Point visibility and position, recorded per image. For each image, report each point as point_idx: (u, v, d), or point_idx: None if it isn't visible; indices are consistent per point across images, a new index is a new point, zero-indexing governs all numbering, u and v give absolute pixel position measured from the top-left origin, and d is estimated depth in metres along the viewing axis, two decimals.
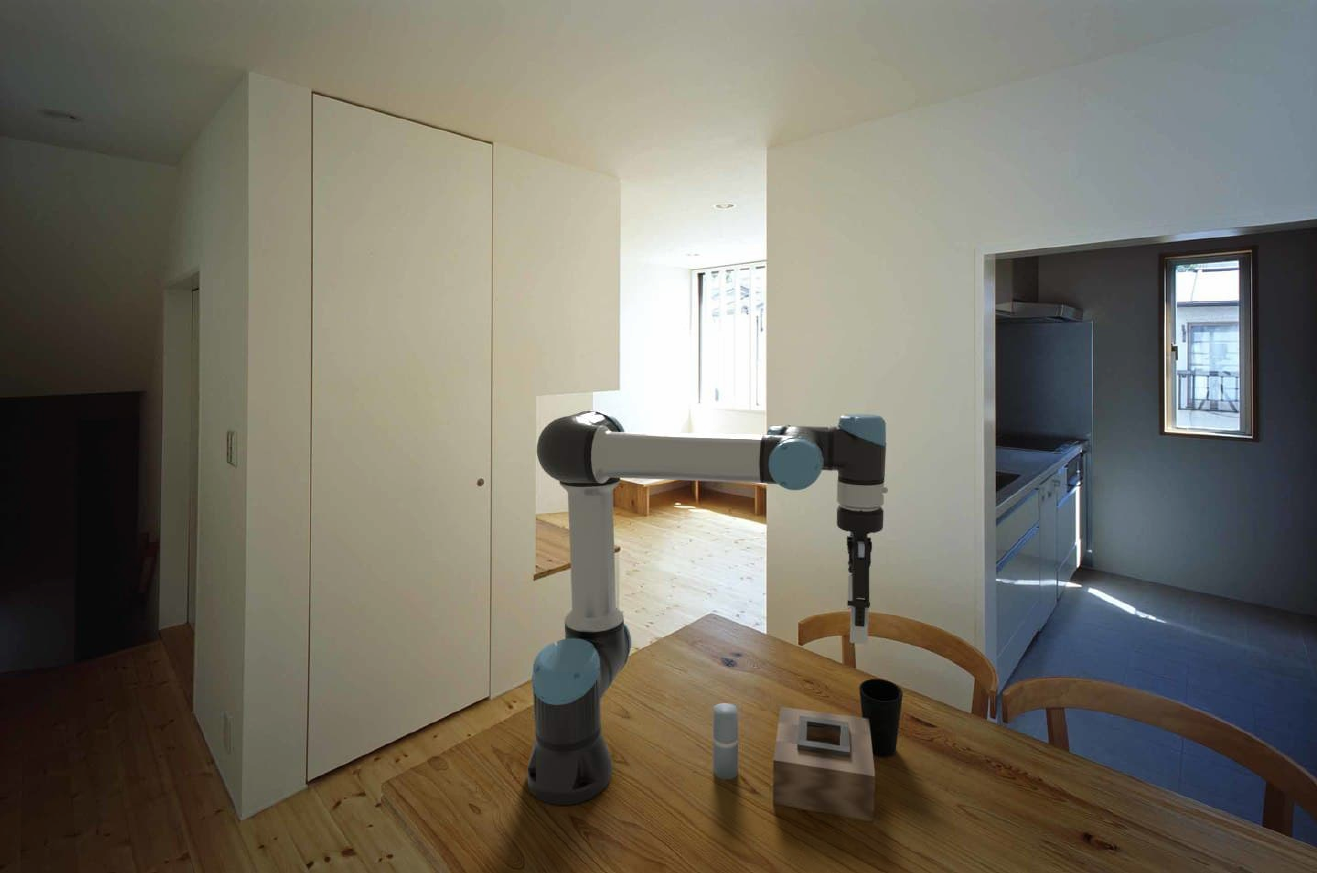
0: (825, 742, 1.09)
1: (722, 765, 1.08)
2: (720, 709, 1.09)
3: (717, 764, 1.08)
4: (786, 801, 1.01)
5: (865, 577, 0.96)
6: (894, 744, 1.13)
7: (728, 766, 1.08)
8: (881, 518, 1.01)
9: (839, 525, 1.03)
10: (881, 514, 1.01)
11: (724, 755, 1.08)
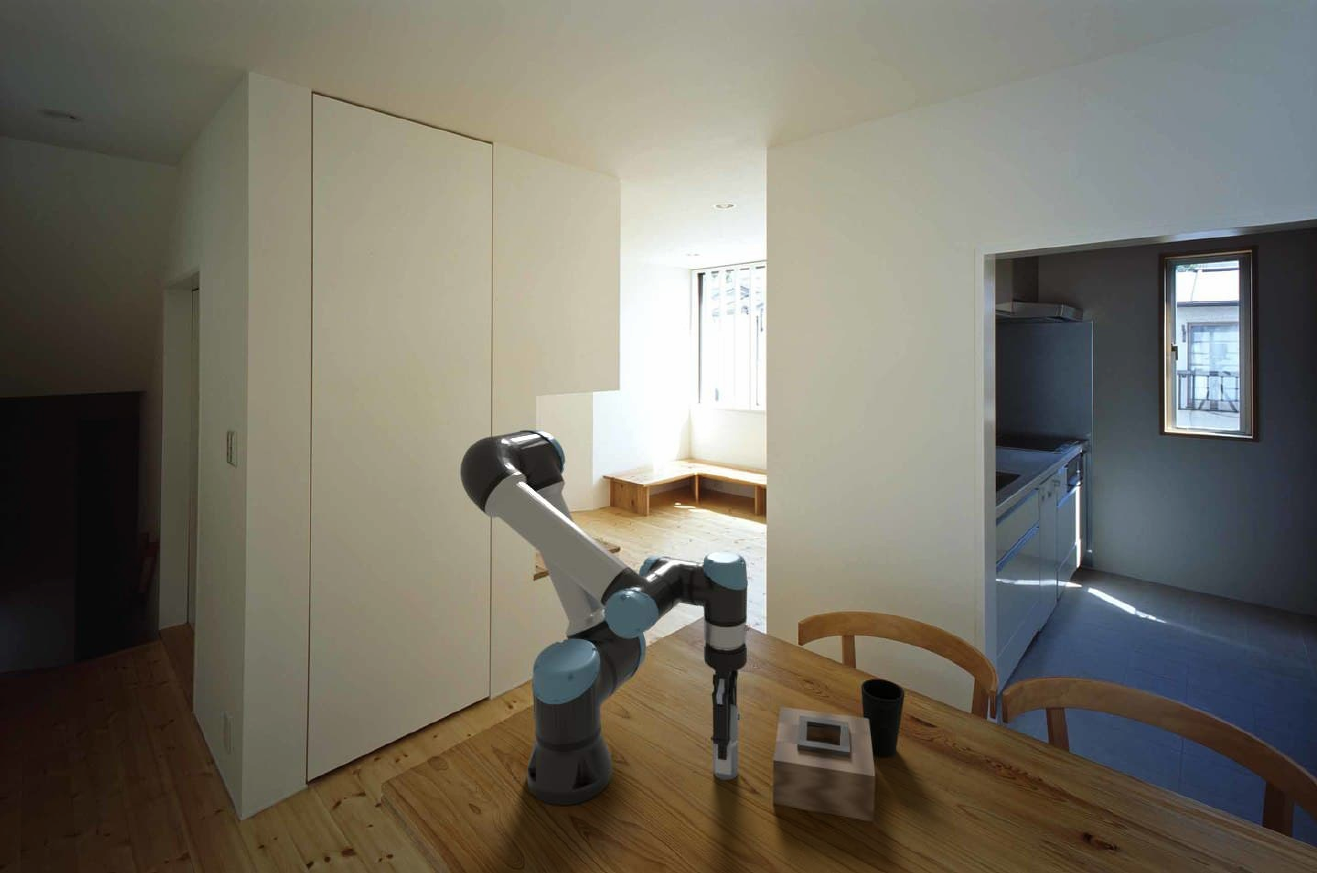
0: (825, 742, 1.09)
1: None
2: None
3: None
4: (786, 801, 1.01)
5: (723, 722, 1.03)
6: (894, 744, 1.14)
7: None
8: (742, 656, 1.05)
9: (705, 660, 1.07)
10: (742, 652, 1.05)
11: None
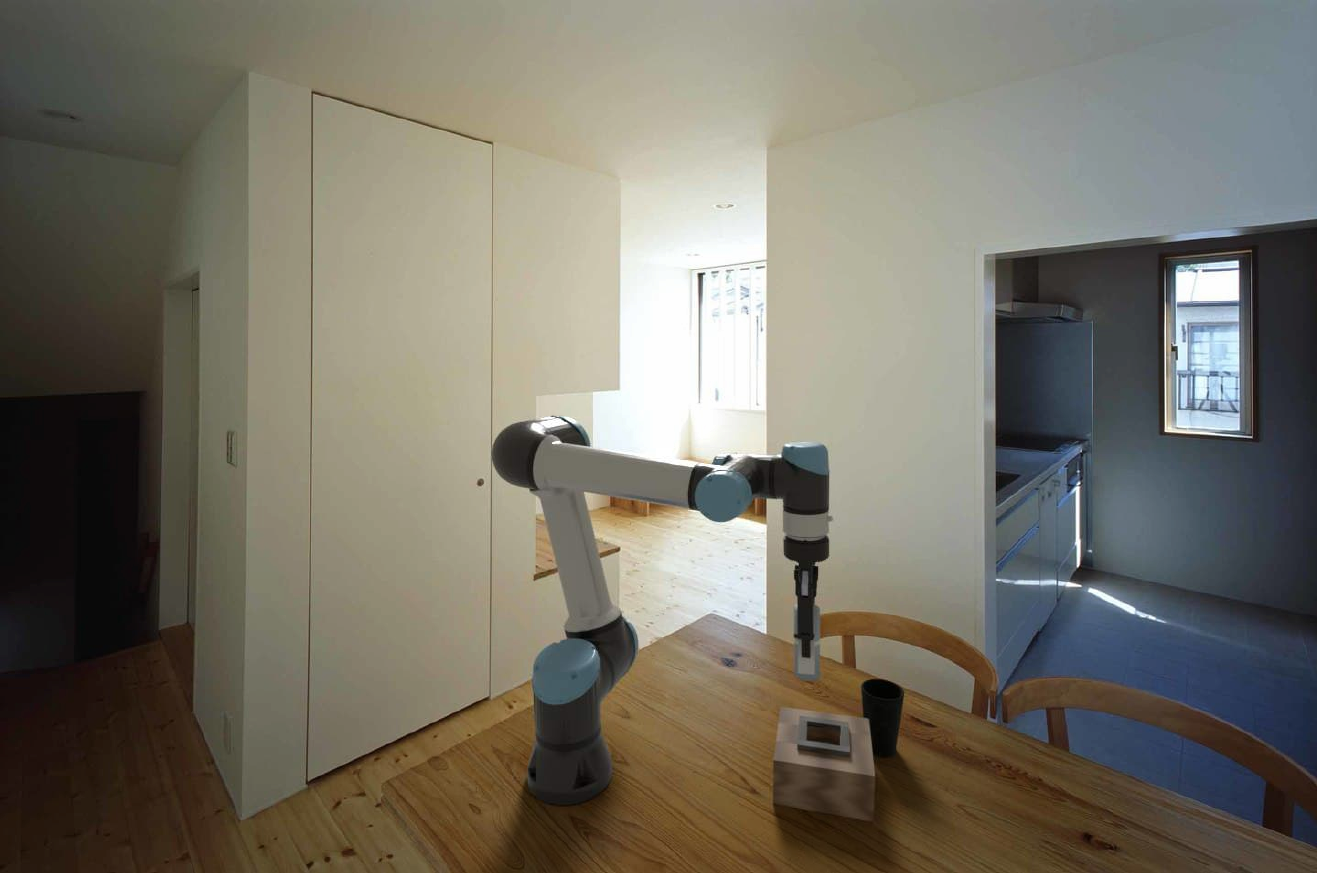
0: (825, 742, 1.09)
1: None
2: None
3: None
4: (786, 801, 1.01)
5: (809, 614, 0.98)
6: (894, 744, 1.14)
7: None
8: (826, 547, 1.00)
9: (785, 554, 1.02)
10: (826, 543, 1.00)
11: None
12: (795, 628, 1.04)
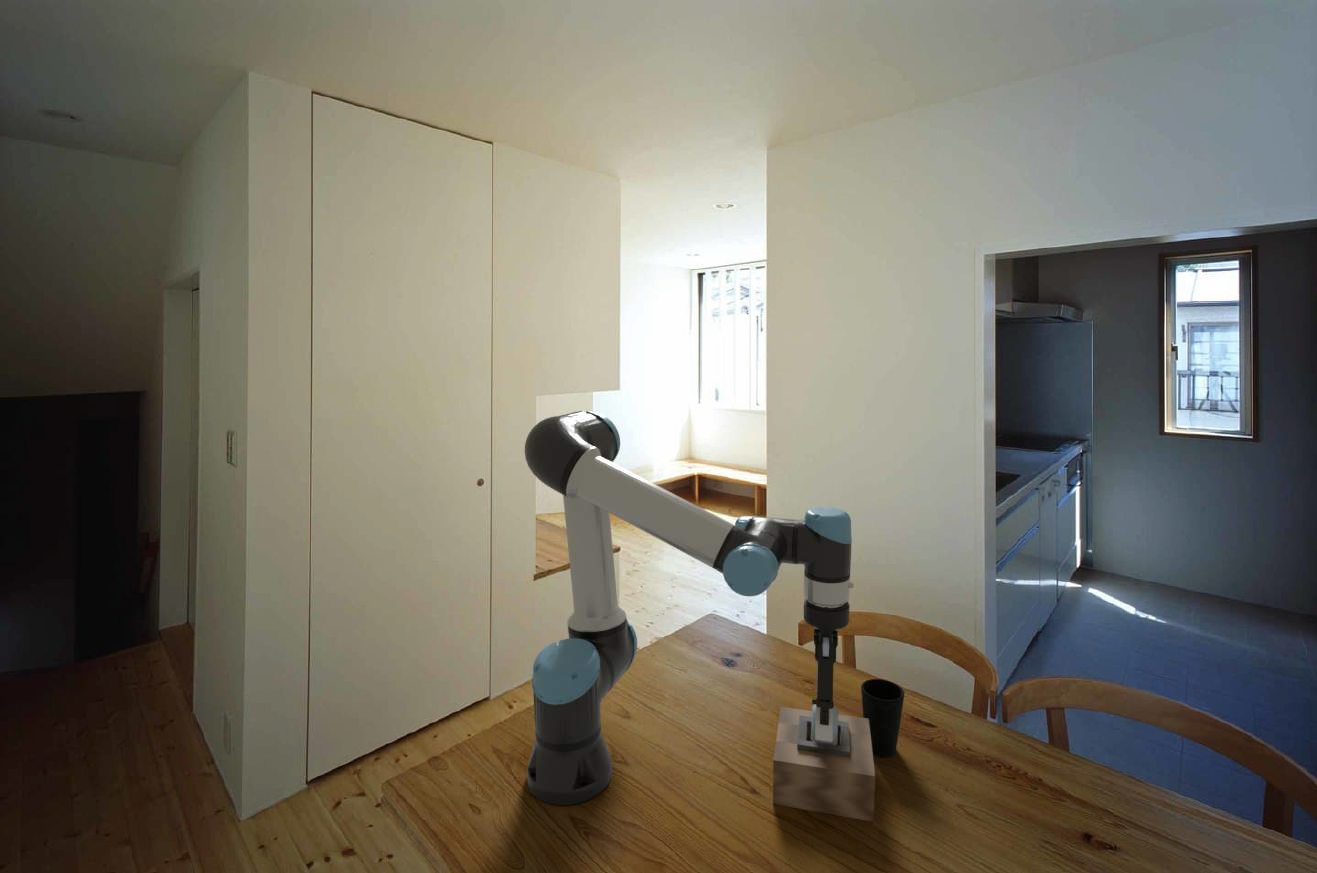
0: None
1: None
2: None
3: None
4: (786, 801, 1.01)
5: (829, 677, 0.96)
6: (895, 744, 1.14)
7: None
8: (847, 614, 1.01)
9: (805, 619, 1.03)
10: (847, 610, 1.01)
11: None
12: (813, 730, 1.05)
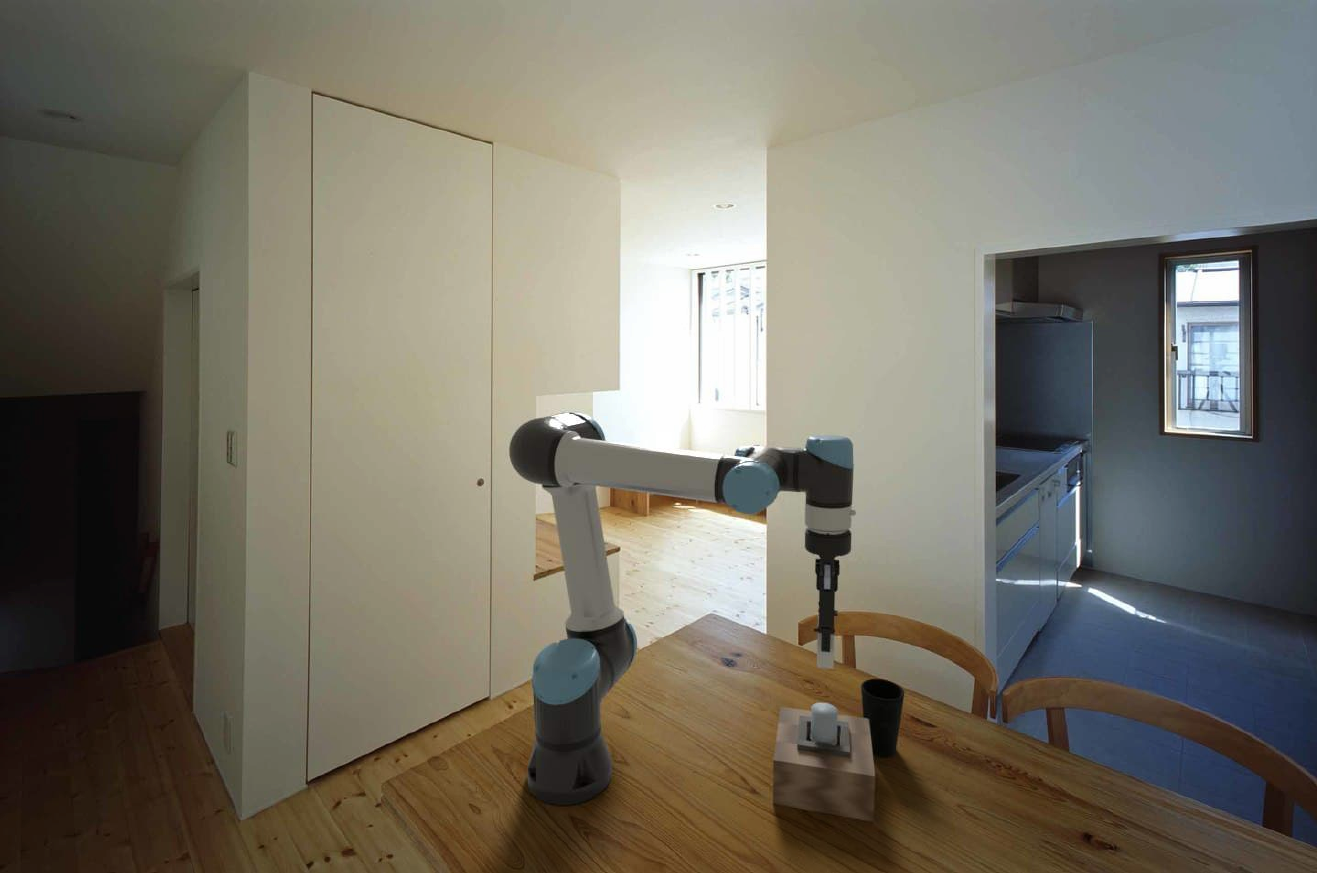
0: None
1: None
2: (819, 709, 1.06)
3: None
4: (786, 801, 1.01)
5: (830, 608, 0.97)
6: (895, 744, 1.14)
7: None
8: (848, 541, 0.99)
9: (807, 548, 1.01)
10: (848, 537, 0.99)
11: None
12: (813, 729, 1.06)
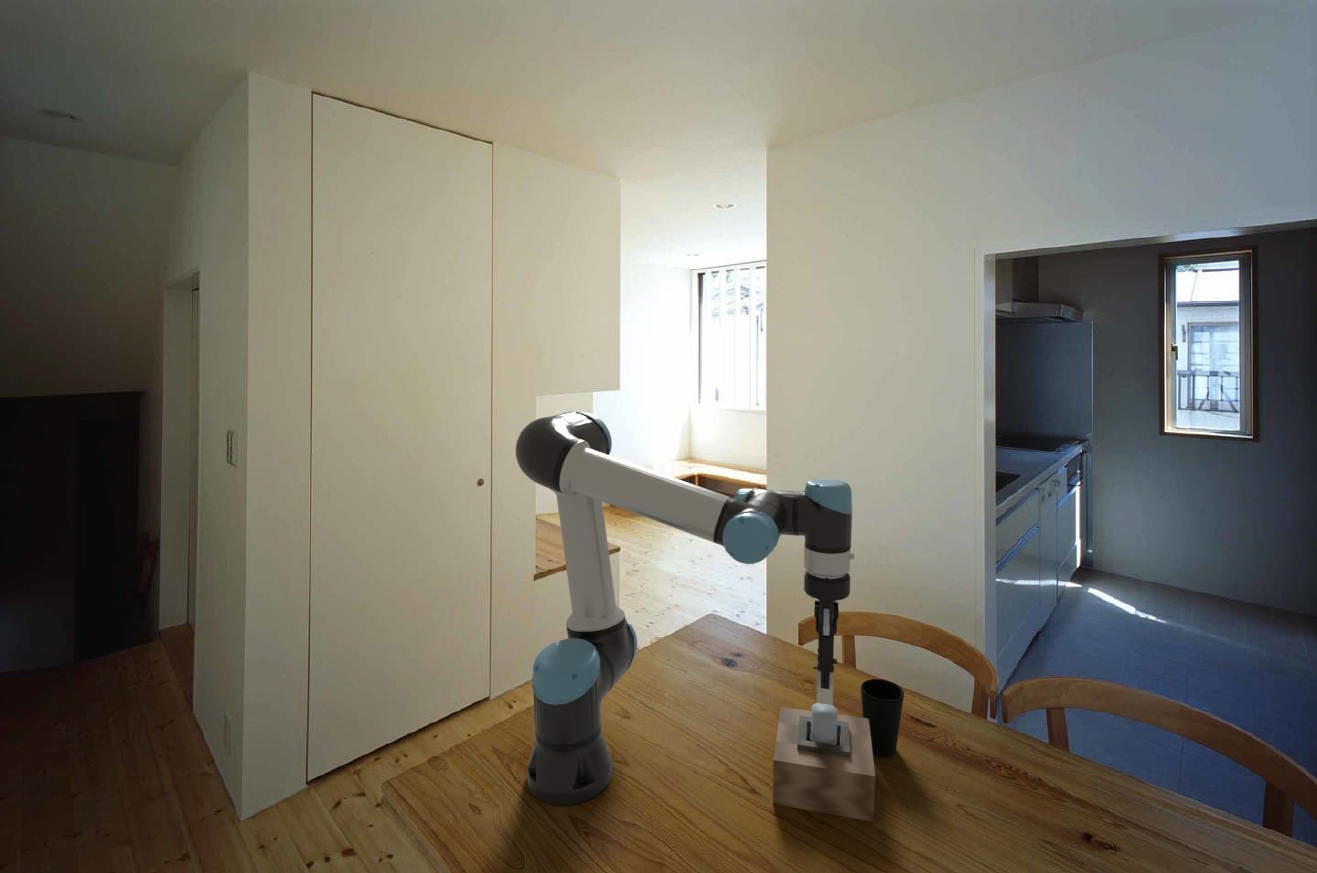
0: None
1: None
2: (819, 709, 1.06)
3: None
4: (786, 801, 1.01)
5: (829, 651, 1.00)
6: (895, 744, 1.14)
7: None
8: (847, 585, 1.00)
9: (806, 591, 1.02)
10: (847, 581, 1.00)
11: None
12: (812, 729, 1.06)
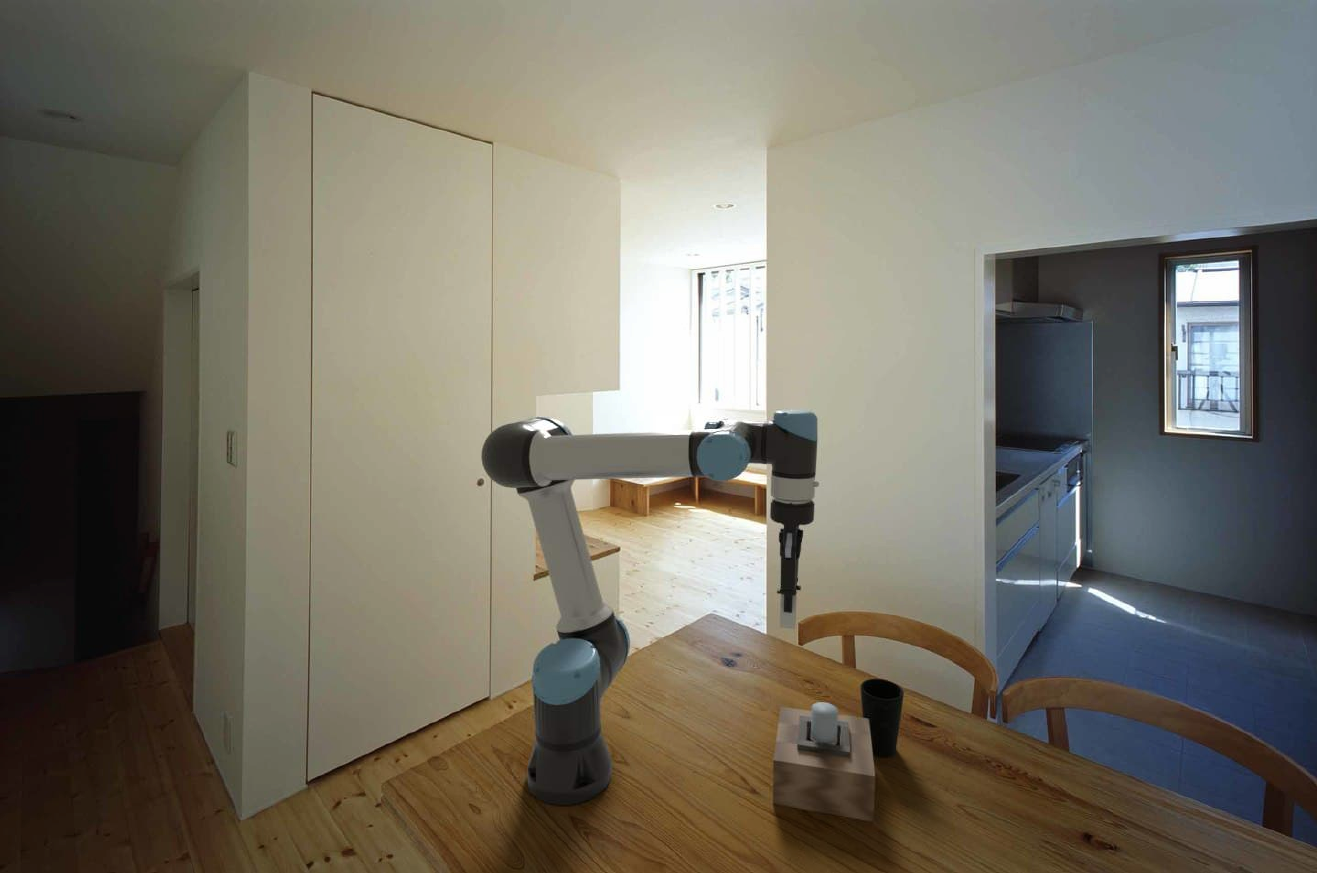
0: None
1: None
2: (819, 708, 1.06)
3: None
4: (786, 801, 1.01)
5: (791, 574, 1.03)
6: (895, 744, 1.14)
7: None
8: (811, 511, 1.04)
9: (771, 517, 1.06)
10: (811, 507, 1.04)
11: None
12: (813, 729, 1.06)
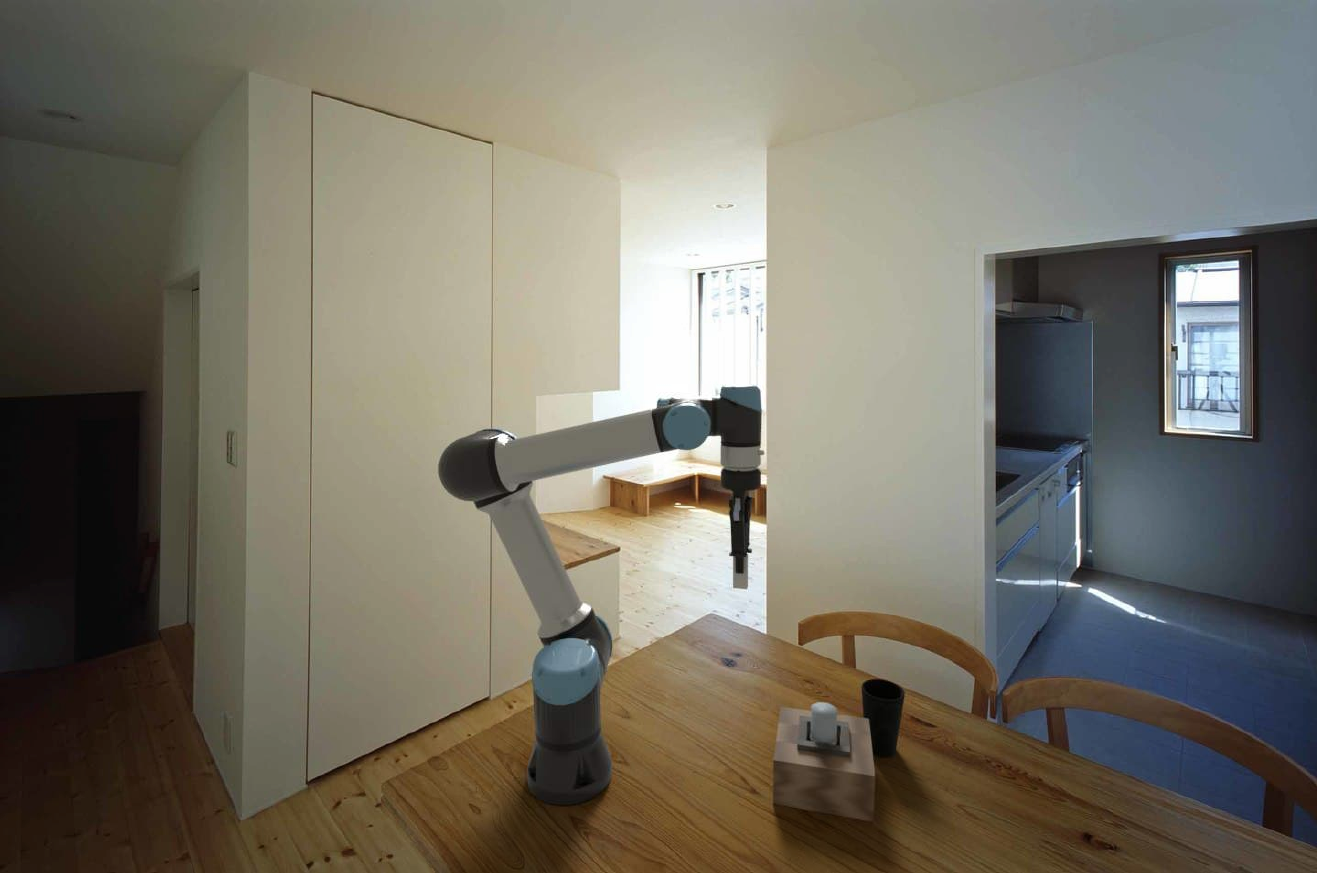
0: None
1: None
2: (818, 708, 1.06)
3: None
4: (786, 801, 1.01)
5: (740, 536, 1.11)
6: (895, 744, 1.14)
7: None
8: (757, 477, 1.12)
9: (721, 484, 1.14)
10: (757, 474, 1.12)
11: None
12: (812, 729, 1.06)
